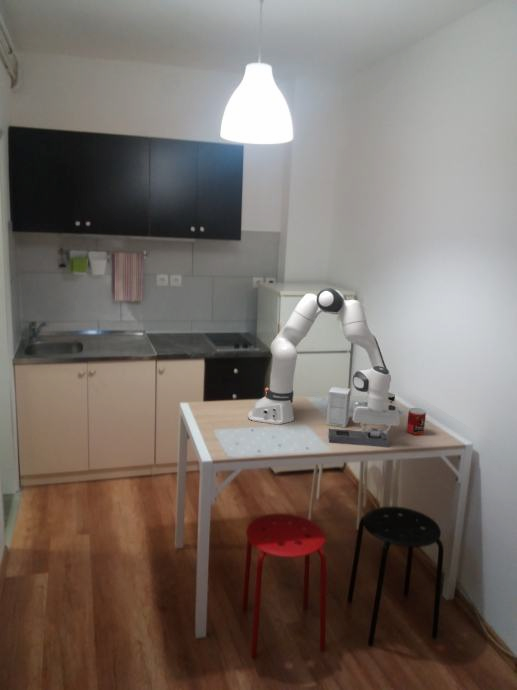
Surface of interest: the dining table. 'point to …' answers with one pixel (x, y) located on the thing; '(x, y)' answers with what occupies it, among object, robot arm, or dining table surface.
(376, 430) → the nut block
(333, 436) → the grey slotted base block
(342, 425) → the supplement box
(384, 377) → the robot arm
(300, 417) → the dining table surface
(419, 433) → the canned food
